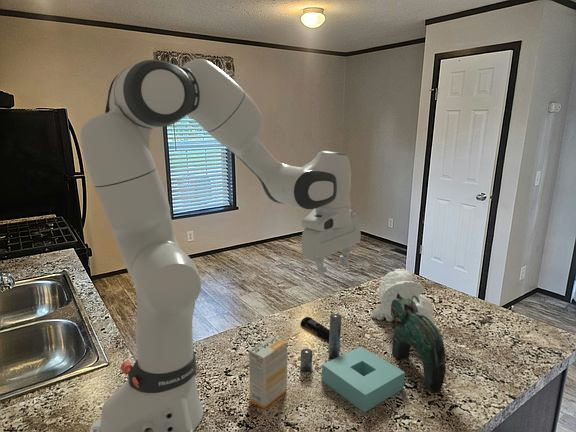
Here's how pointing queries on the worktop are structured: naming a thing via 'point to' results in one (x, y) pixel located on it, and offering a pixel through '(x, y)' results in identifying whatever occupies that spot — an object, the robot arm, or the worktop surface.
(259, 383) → the supplement box
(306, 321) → the electric trimmer
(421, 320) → the ceramic cat
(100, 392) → the worktop surface
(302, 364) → the short pin
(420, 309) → the white lumpy sculpture
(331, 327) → the long pin
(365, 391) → the hole block
